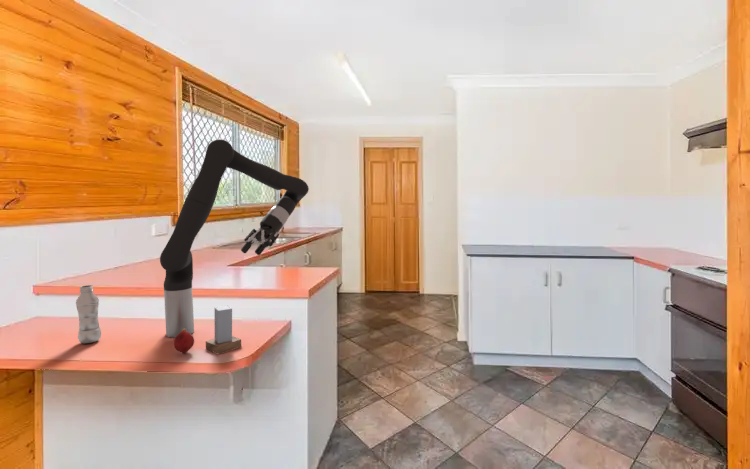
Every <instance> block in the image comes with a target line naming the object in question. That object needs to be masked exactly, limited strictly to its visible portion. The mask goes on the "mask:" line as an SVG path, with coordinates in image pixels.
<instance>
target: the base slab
mask: <svg viewBox="0 0 750 469" xmlns="http://www.w3.org/2000/svg"><path fill="white" fill-rule="evenodd" d="M241 347H242V339H241V338H238V337H236V336H233V335H232V341H228V342H223V343H217V341H216V340H215V338H212V339H208V340H206V341H205V350H208V351H210V352H213V353H214V354H218V355H221V354H225V353H227V352H230V351H233V350H236V349H238V348H241ZM232 349H233V350H232Z"/></svg>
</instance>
